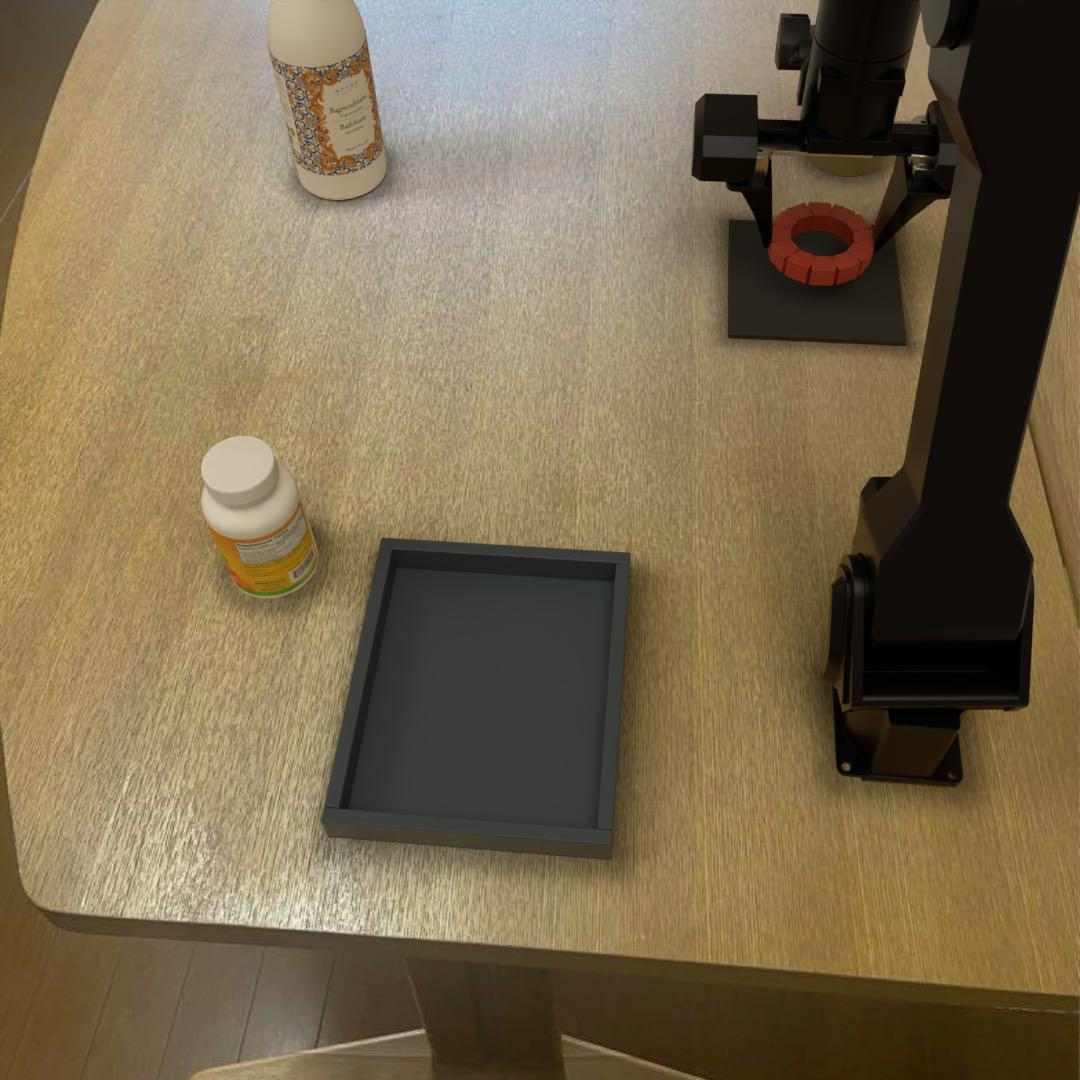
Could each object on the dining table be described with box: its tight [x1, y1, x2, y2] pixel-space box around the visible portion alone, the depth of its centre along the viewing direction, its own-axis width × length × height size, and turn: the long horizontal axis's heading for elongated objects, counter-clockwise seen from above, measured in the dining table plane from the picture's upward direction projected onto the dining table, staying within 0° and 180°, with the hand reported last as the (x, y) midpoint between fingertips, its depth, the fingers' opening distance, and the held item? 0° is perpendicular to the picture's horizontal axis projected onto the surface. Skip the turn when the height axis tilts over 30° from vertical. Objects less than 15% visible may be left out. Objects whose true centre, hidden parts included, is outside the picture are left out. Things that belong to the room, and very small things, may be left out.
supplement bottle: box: [200, 435, 319, 599], centre depth 68 cm, size 5×5×10 cm
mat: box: [727, 218, 908, 347], centre depth 85 cm, size 12×12×1 cm
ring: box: [768, 201, 874, 286], centre depth 82 cm, size 7×7×1 cm
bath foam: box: [265, 0, 387, 201], centre depth 85 cm, size 7×7×20 cm
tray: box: [320, 537, 631, 861], centre depth 65 cm, size 18×15×2 cm
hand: (820, 245), depth 82 cm, fingers closed on ring, 7 cm apart
